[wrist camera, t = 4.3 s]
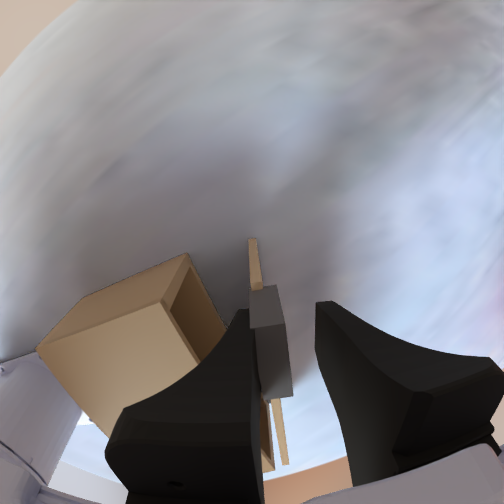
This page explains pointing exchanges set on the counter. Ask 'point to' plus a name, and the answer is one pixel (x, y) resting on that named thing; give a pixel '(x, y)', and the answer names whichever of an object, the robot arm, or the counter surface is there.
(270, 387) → the carton flap
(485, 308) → the counter surface
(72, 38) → the counter surface
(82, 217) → the counter surface
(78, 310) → the carton
